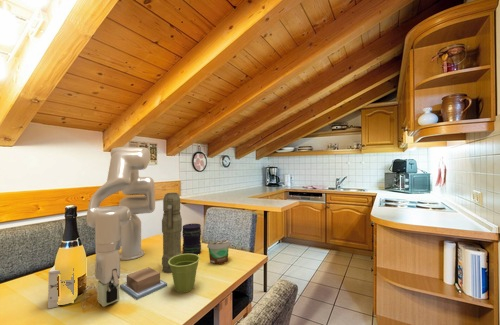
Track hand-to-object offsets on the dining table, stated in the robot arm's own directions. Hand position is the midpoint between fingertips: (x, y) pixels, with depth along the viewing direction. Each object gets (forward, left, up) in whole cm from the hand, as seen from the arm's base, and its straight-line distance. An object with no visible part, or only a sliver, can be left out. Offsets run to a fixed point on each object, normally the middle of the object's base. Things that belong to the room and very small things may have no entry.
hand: (108, 297), depth 80 cm
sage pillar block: (0, 0, -1) cm, 1 cm away
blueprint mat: (-1, +13, -2) cm, 13 cm away
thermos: (-6, +29, -2) cm, 29 cm away
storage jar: (-15, +47, -2) cm, 49 cm away
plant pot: (+13, +22, -2) cm, 26 cm away
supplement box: (-14, -9, -2) cm, 17 cm away
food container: (+7, +48, -2) cm, 48 cm away
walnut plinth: (-1, +13, -2) cm, 13 cm away
